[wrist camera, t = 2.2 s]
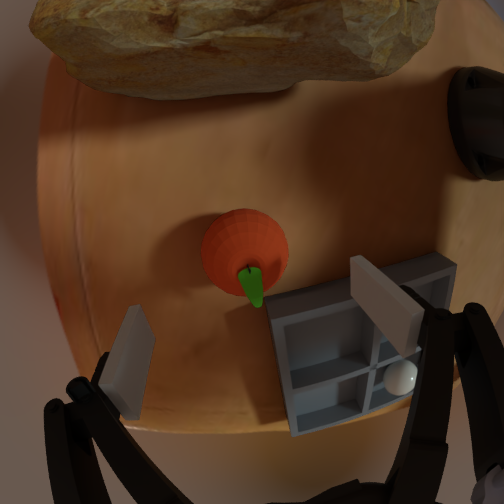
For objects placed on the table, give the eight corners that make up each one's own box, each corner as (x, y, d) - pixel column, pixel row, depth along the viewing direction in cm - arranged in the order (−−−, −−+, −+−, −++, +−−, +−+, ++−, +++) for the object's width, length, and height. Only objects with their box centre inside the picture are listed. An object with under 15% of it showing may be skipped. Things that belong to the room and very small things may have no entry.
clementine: (287, 271, 27) (308, 311, 21) (218, 290, 27) (219, 335, 21) (269, 192, 24) (289, 210, 18) (193, 213, 24) (183, 238, 18)
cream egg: (410, 347, 33) (428, 370, 28) (404, 371, 35) (420, 393, 30) (379, 359, 33) (396, 385, 28) (375, 383, 35) (389, 407, 30)
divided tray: (436, 251, 29) (457, 264, 25) (413, 372, 37) (424, 388, 33) (263, 297, 28) (270, 319, 24) (286, 416, 36) (291, 437, 33)
